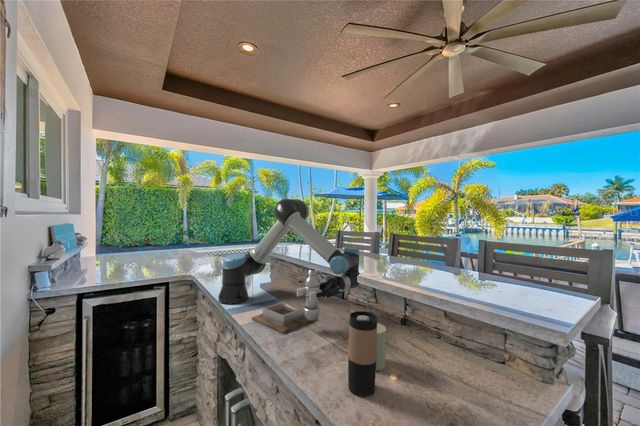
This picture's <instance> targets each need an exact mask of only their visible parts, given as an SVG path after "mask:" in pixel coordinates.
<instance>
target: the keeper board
mask: <svg viewBox="0 0 640 426" xmlns="http://www.w3.org/2000/svg"><path fill="white" fill-rule="evenodd" d="M297 310H298V309H295V308H293V307H289V306H286V305H285V310H284V311H282V312H279V314H282V315H286V314H289V313H291V312H294V311H297ZM251 321H253V322H256V323H258V324H259V323H260V325H261V324H262V326H263V327H265V328H268V329H270V330H273V331H275V332H277V333H280V334H282V335H284V334H285V335H286V333H287V334H288V333H290V332H291V331H293V330H296V329H297V328H300V327H302V326H304V325H307V324H309V323H312V322H314V321H315V320H313V321H310V320H306V319H305V318H302V319H300V320H297V321H295V322H292V323H290V324H287V325H285V326H282V325H280V324H277V323H275V322H273V321H270V320H268V319H266V318H263V313H260V314H258V315H257V314H256V315H254V316H252V317H251Z"/></svg>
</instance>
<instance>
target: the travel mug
mask: <svg viewBox="0 0 640 426" xmlns="http://www.w3.org/2000/svg"><path fill="white" fill-rule="evenodd" d="M377 323H378V316H377V315H376V314H375V313H373V312H369V311H366V310H365V311H364V310H360V311H359V310H358V311H357V310H356V311H353V312H351V313H350V314H349V328H348V353H347V354H348V355H347V356H348V357H347V361H348V362H347V366H348V369H347V371H348V373H347V374H348V375H347V376H348V385H347V386H348V390H349V392H350V393H351V394H352V393H353V394H352V395H354V396H356V395H357V397H359V396H361V397H360V398H368V397H371V396H372V395H374V392H375V387H376V375H377V373H376V372H377V371H376V359H377ZM370 395H371V396H370ZM367 396H368V397H367Z"/></svg>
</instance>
